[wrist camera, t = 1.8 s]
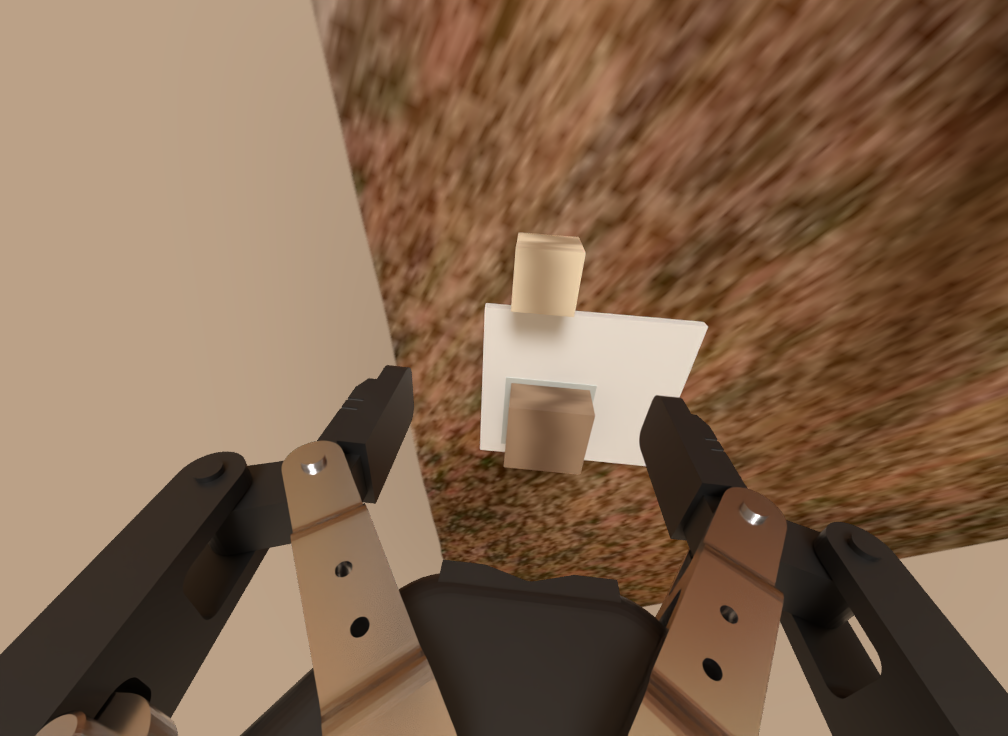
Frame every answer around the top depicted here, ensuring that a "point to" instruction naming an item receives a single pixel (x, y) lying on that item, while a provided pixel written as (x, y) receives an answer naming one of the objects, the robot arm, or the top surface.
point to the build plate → (586, 370)
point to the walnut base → (548, 428)
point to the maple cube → (547, 274)
